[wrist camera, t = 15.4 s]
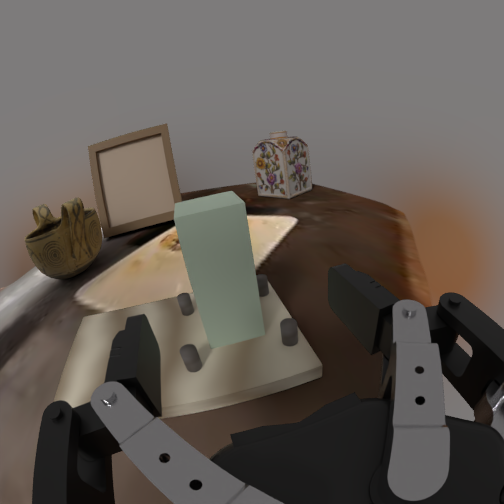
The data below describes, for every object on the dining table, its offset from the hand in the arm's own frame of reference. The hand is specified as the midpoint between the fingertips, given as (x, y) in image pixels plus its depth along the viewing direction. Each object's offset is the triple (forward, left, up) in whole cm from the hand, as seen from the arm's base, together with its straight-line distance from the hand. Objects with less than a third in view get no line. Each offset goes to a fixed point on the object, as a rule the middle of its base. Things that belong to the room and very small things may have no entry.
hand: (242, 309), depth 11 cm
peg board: (-6, +12, -11) cm, 18 cm away
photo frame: (-14, +65, -12) cm, 67 cm away
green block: (0, +12, -10) cm, 15 cm away
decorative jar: (+26, +65, -12) cm, 70 cm away
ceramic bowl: (-28, +42, -12) cm, 52 cm away
